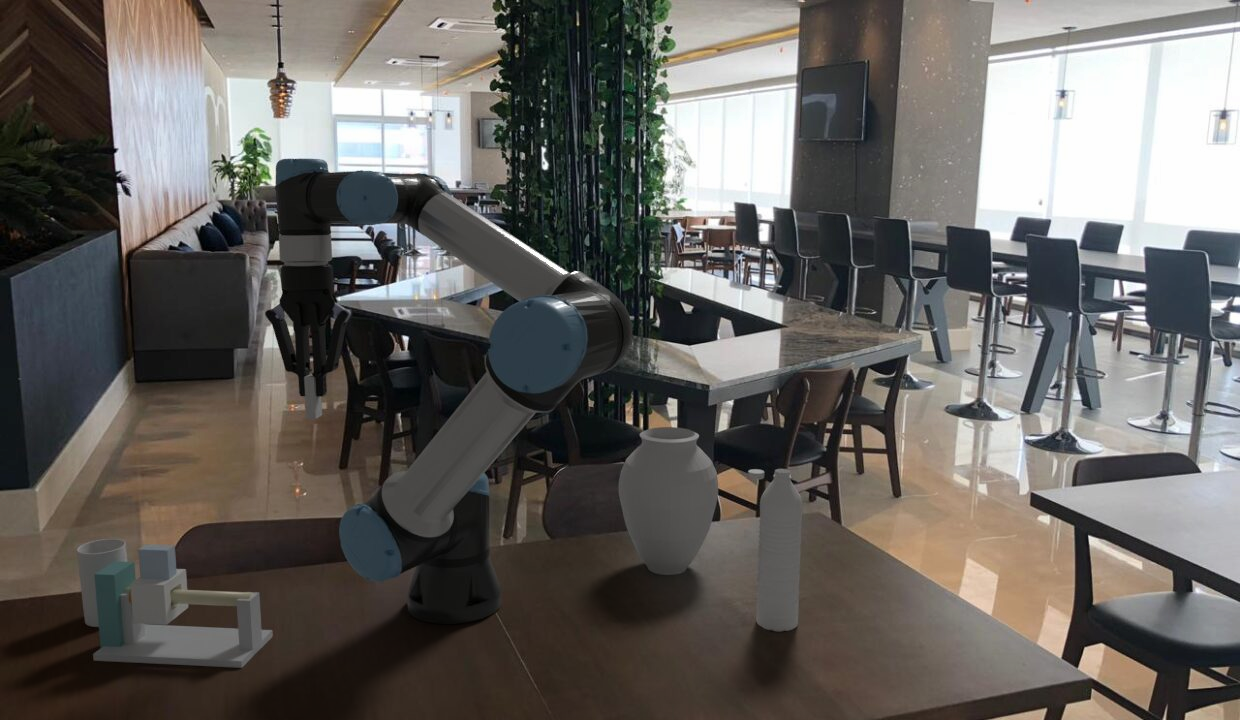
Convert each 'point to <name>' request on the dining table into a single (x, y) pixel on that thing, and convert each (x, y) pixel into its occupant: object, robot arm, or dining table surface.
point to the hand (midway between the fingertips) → (314, 416)
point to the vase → (668, 498)
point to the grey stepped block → (157, 586)
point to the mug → (96, 570)
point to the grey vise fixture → (174, 642)
